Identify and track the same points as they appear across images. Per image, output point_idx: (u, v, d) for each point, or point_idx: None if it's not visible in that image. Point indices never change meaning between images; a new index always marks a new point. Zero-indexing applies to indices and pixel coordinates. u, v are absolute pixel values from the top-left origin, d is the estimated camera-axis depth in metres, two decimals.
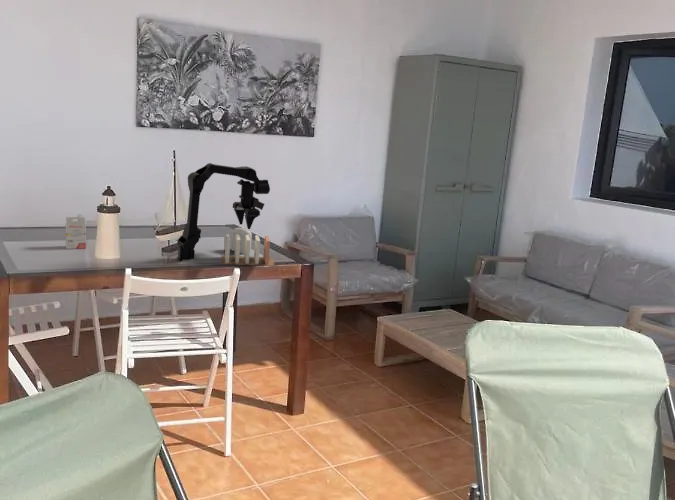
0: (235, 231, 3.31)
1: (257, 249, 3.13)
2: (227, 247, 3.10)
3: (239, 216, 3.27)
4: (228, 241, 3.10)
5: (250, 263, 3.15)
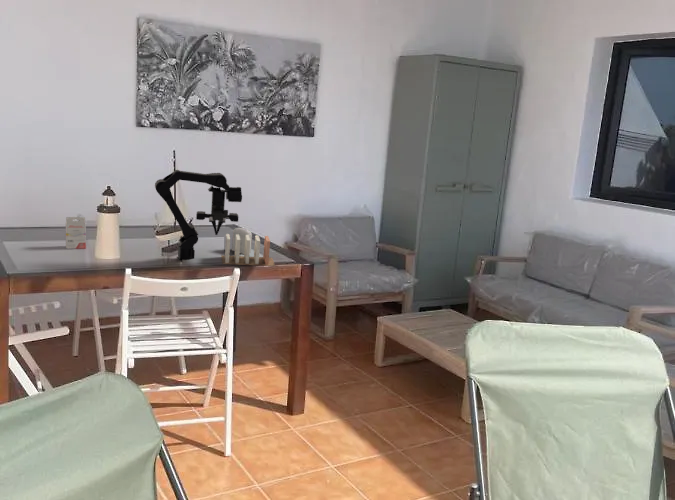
0: (235, 231, 3.31)
1: (257, 249, 3.13)
2: (227, 247, 3.10)
3: (217, 226, 3.15)
4: (228, 241, 3.10)
5: (250, 263, 3.15)
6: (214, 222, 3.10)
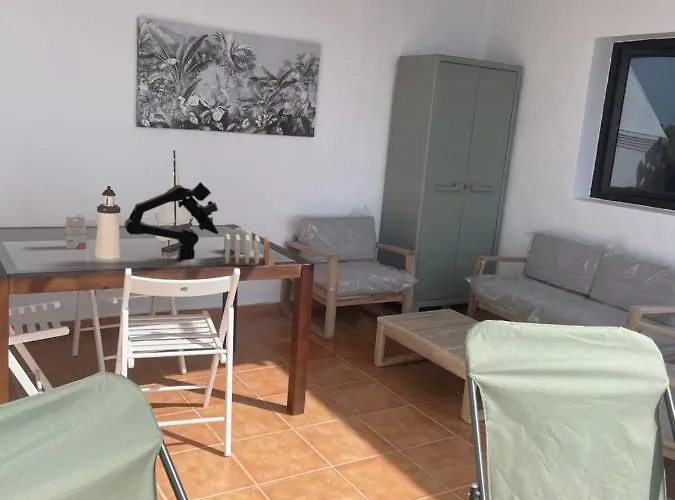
0: (235, 231, 3.31)
1: (257, 249, 3.13)
2: (227, 247, 3.10)
3: None
4: (228, 241, 3.10)
5: (250, 263, 3.15)
6: (212, 219, 3.09)
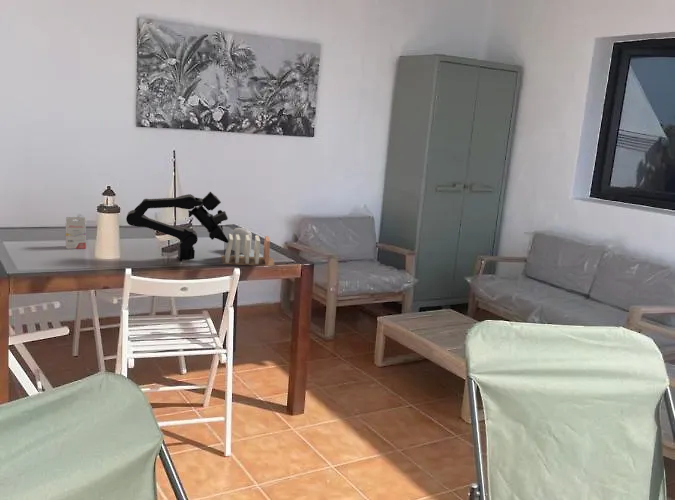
0: (235, 231, 3.31)
1: (257, 249, 3.13)
2: (229, 247, 3.11)
3: None
4: (231, 241, 3.10)
5: (250, 263, 3.15)
6: (222, 228, 3.11)
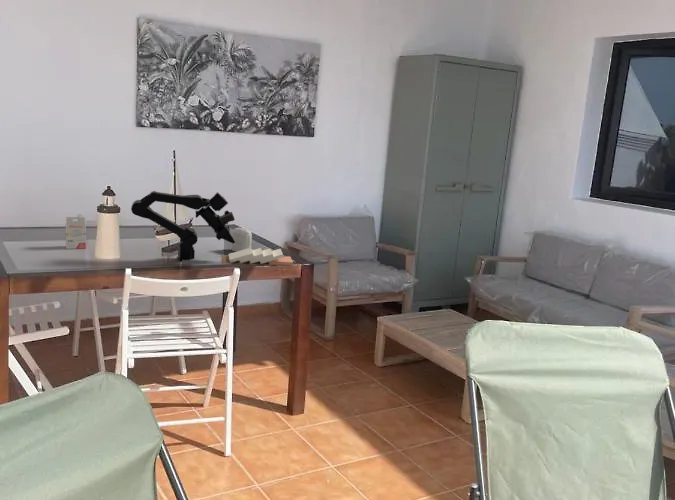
0: (235, 231, 3.31)
1: (274, 257, 3.16)
2: (244, 256, 3.13)
3: None
4: (251, 255, 3.14)
5: None
6: None
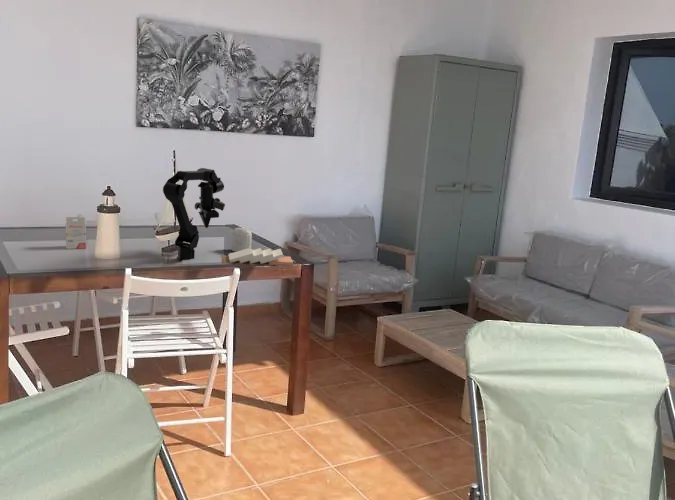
0: (235, 231, 3.31)
1: (274, 257, 3.16)
2: (244, 256, 3.13)
3: None
4: (251, 255, 3.14)
5: None
6: None
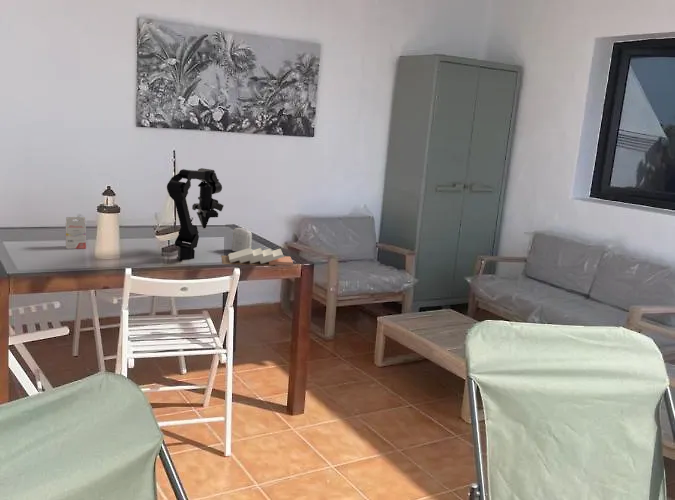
0: (235, 231, 3.31)
1: (274, 257, 3.16)
2: (244, 256, 3.13)
3: None
4: (251, 255, 3.14)
5: None
6: None
